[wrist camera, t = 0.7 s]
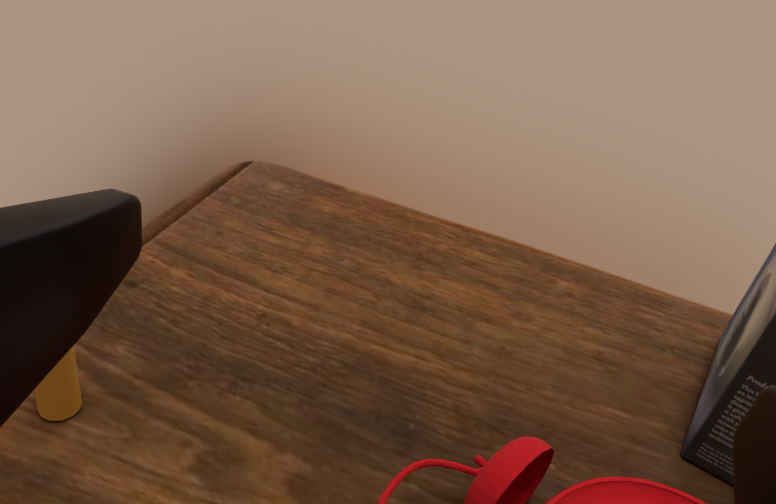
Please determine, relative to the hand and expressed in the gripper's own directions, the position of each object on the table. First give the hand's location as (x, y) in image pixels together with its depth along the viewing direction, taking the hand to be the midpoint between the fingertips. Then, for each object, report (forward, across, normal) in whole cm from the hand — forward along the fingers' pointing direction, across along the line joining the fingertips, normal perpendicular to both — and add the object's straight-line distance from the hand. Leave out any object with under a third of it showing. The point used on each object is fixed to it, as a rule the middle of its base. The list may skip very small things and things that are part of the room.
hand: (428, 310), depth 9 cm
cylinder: (+8, +14, +16) cm, 22 cm away
